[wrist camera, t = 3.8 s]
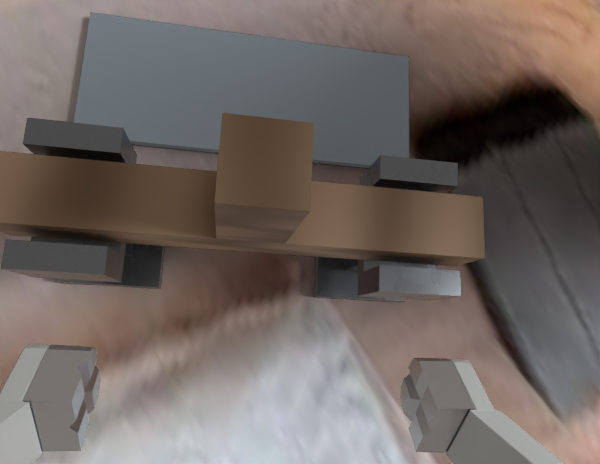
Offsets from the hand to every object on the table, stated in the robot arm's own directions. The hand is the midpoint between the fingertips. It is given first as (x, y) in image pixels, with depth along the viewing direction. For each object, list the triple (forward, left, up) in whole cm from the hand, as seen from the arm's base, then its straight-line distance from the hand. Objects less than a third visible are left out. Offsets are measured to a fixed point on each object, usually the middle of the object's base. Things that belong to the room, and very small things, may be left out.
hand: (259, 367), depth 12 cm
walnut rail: (0, -6, -11) cm, 12 cm away
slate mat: (0, -17, -19) cm, 25 cm away
